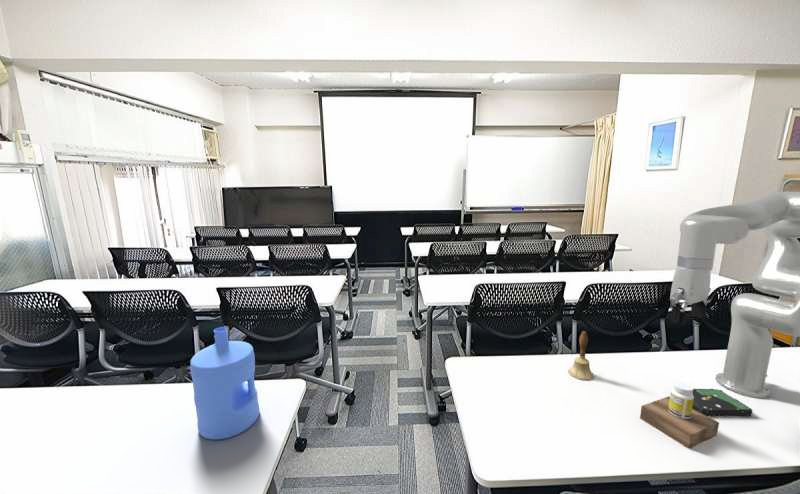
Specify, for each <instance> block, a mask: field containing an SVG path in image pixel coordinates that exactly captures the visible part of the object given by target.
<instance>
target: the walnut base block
mask: <svg viewBox="0 0 800 494" xmlns="http://www.w3.org/2000/svg"><path fill="white" fill-rule="evenodd" d="M669 401H670V395H667V396H666V397H663V398H659V399H657V400H654V401H651V402H648V403H646V404H643V405H641V408H640V416H639V419H640V420H641V421H643V422H645V423H646V424H648V425H649V426H652V427H653V428H654V429H656V430H658V431H659V432H661V433H663V434H665V435H666V436H667V437H669V438H671V439H672V440H674V441H676V442H677V443H679V444H680V445H681V446H684V447H685V448H687V449H688V450H689V449H691V448H693V447H695V446H698V445H699V444H702V443H704V442H708V441H709V440H711V439H713V438H716V437H717V436H718V430H719V427H720V426H719V425H720V421H719V422H718V421H717V420H715V419H713V418H712V417H708V416H706V415H704V414H702V413H700V412H698V411H696V410H694V409H692V413H691V417H690V418H689V419H683V418H679V417H676V416H674V415H673V414H671V413H670V412H669V410H668V408H669Z"/></svg>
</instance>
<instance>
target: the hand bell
mask: <svg viewBox="0 0 800 494" xmlns="http://www.w3.org/2000/svg"><path fill="white" fill-rule="evenodd" d="M578 339H579V340H578V341H579V342H578V343H579V347H580V348H579V349H580V351H579V356H578V357H575V359H574V362H573V365H572V366H571V367H569V368H568V369H567V373H568V374H569V375H570V376H571V377H573V378H575V379H577V380H580V381H585V382H586V381H592V380H594V379H595V374H594V373H593V372H592V370H591V367H590V360H588V359H587V358H586V349H587V347H588V343H589V338H588V334H587V331H582V332H581V334H580V336H579V338H578Z"/></svg>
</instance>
